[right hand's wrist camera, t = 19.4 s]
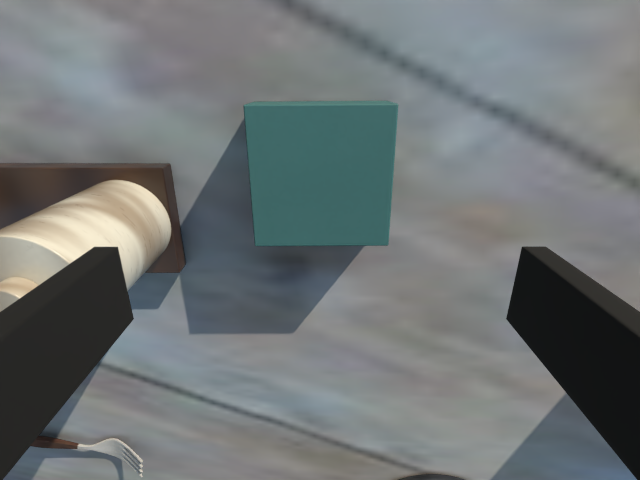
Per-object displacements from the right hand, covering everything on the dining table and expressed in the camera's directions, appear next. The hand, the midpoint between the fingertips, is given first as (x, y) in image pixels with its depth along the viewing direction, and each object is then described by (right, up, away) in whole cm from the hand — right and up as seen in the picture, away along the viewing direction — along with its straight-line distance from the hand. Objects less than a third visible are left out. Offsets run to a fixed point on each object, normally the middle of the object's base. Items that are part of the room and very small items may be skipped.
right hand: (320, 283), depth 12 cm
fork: (-25, -18, +25) cm, 40 cm away
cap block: (0, +7, +14) cm, 16 cm away
